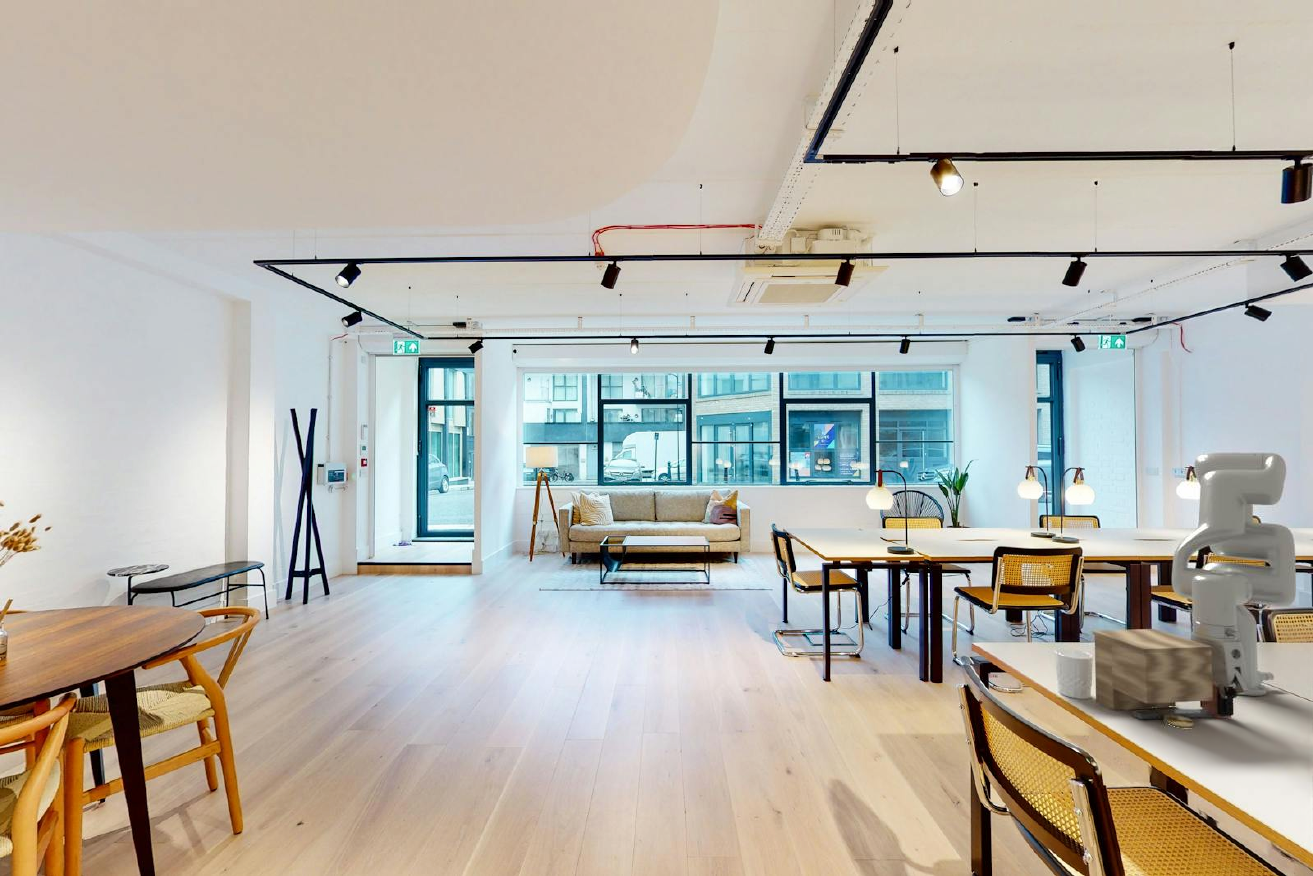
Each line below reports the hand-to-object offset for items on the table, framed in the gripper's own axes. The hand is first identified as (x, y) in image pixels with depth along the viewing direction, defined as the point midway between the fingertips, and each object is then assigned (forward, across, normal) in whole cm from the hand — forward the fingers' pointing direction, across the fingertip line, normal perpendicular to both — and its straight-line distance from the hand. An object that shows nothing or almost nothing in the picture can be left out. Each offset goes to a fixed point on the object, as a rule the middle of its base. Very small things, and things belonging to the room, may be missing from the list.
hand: (1216, 710), depth 143 cm
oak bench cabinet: (+1, +3, +13) cm, 13 cm away
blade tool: (+1, 0, +9) cm, 9 cm away
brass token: (+1, -4, +13) cm, 14 cm away
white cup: (+1, +15, +23) cm, 27 cm away
